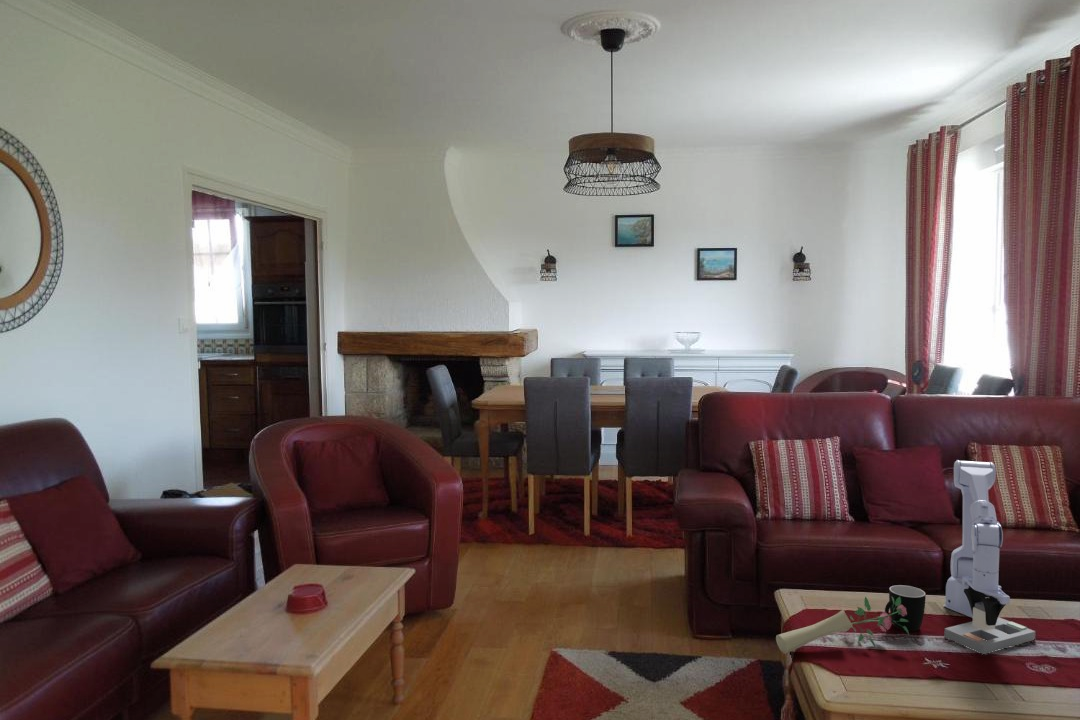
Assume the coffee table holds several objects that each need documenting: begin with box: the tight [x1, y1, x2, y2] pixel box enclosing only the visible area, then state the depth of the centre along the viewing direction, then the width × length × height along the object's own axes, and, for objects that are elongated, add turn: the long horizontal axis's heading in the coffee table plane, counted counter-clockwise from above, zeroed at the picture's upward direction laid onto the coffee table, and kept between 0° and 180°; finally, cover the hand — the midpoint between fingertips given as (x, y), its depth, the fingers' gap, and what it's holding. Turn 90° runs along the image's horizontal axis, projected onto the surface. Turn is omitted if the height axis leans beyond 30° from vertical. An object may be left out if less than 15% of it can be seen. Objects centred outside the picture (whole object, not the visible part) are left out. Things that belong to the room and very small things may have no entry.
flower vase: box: [775, 596, 910, 655], centre depth 191 cm, size 12×12×35 cm
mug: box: [884, 584, 926, 632], centre depth 202 cm, size 12×9×10 cm
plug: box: [971, 602, 995, 631], centre depth 191 cm, size 4×4×6 cm
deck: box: [943, 616, 1036, 655], centre depth 195 cm, size 11×20×3 cm, turn 113°
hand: (984, 620), depth 191 cm, fingers closed on plug, 4 cm apart
